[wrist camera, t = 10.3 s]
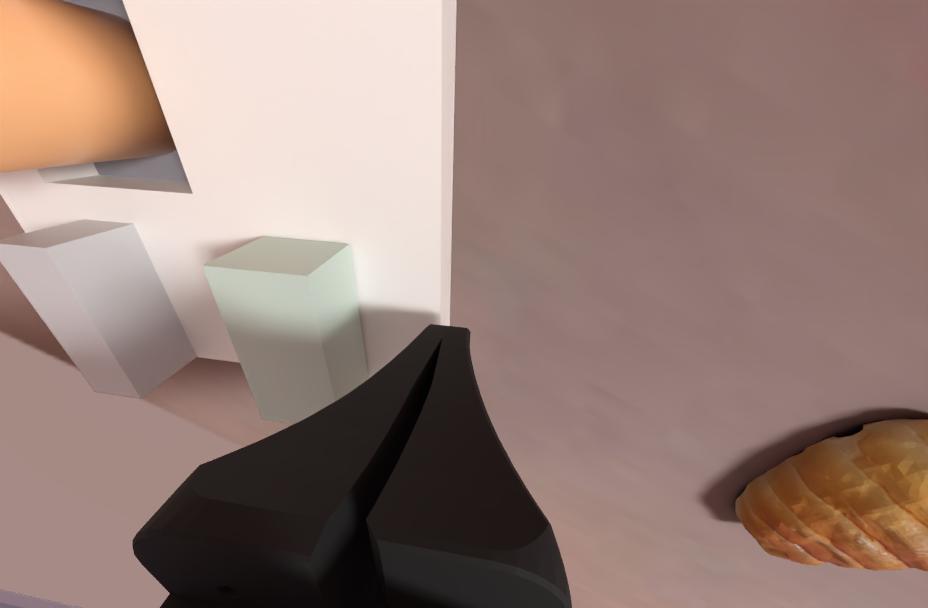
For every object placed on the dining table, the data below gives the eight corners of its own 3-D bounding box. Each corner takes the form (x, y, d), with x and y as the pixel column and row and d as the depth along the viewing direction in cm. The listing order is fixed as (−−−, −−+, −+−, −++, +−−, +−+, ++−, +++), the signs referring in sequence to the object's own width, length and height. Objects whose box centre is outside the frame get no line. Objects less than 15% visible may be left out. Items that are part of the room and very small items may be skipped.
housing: (448, 358, 15) (425, 440, 11) (141, 320, 17) (27, 382, 13) (459, -146, 8) (400, -419, 4) (-103, -127, 9) (-553, -304, 5)
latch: (369, 381, 14) (341, 430, 11) (301, 372, 14) (262, 419, 12) (349, 243, 11) (306, 276, 8) (263, 236, 11) (201, 265, 9)
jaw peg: (205, 159, 12) (-39, 192, 7) (106, 151, 12) (-199, 176, 7) (159, 14, 10) (-245, -104, 5) (41, 8, 10) (-454, -104, 5)
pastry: (773, 536, 19) (828, 625, 15) (697, 480, 17) (739, 564, 14) (997, 467, 14) (1140, 571, 11) (917, 385, 13) (1053, 476, 10)
